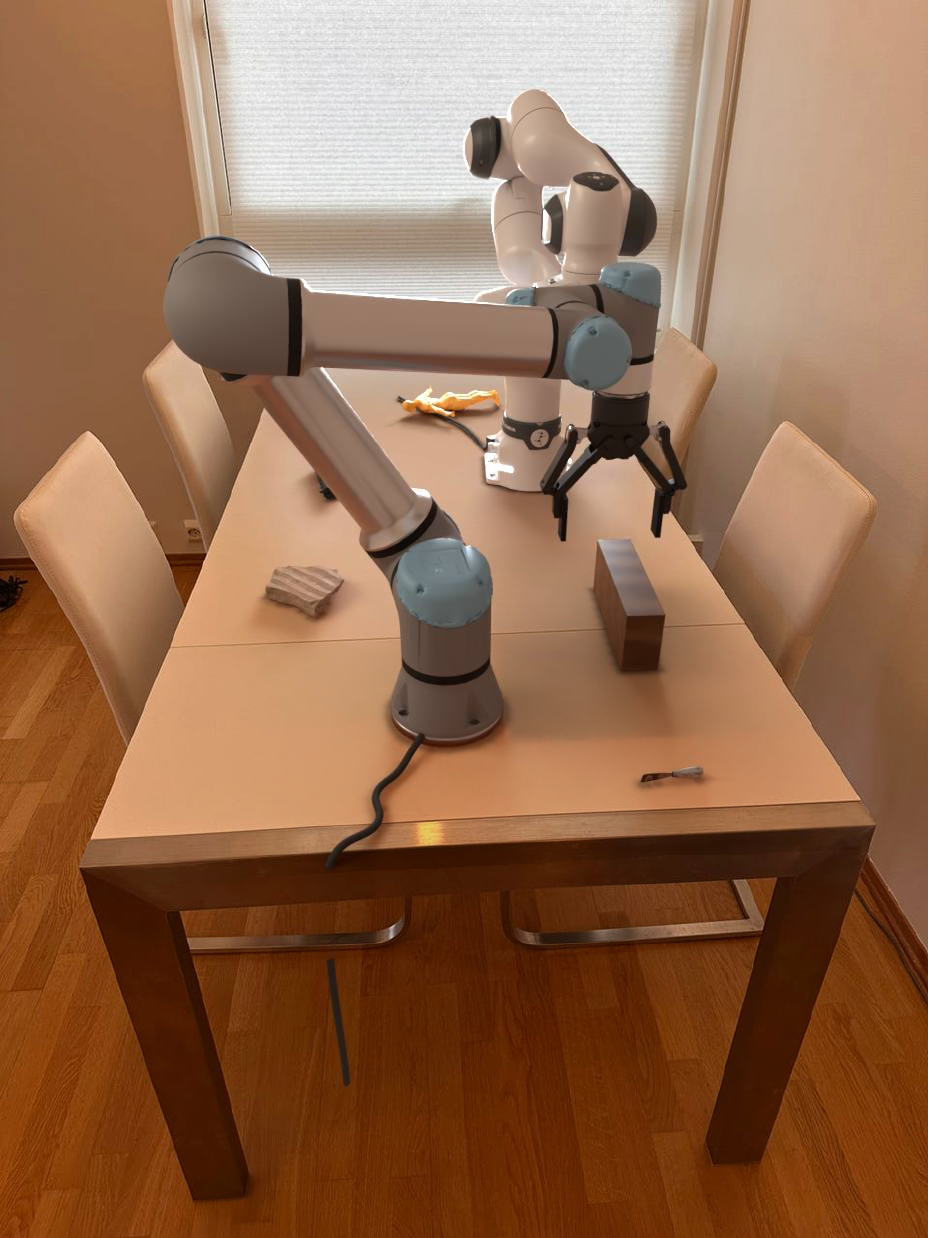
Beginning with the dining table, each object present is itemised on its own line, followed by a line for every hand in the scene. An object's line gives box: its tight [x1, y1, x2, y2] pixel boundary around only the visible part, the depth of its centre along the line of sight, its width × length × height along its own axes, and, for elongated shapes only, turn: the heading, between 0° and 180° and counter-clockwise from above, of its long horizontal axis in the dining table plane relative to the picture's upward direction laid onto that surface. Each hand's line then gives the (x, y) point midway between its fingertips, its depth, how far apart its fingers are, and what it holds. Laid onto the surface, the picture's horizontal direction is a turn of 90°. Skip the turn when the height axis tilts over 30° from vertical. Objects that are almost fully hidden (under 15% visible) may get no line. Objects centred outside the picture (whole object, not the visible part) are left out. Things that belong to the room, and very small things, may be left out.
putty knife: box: [640, 765, 705, 784], centre depth 109 cm, size 1×8×2 cm, turn 103°
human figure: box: [402, 385, 500, 418], centre depth 225 cm, size 20×20×4 cm
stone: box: [264, 565, 345, 618], centre depth 147 cm, size 13×12×3 cm
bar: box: [592, 538, 666, 672], centre depth 137 cm, size 24×5×9 cm, turn 3°
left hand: (608, 535), depth 128 cm, fingers open, 13 cm apart
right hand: (582, 375), depth 148 cm, fingers open, 8 cm apart
